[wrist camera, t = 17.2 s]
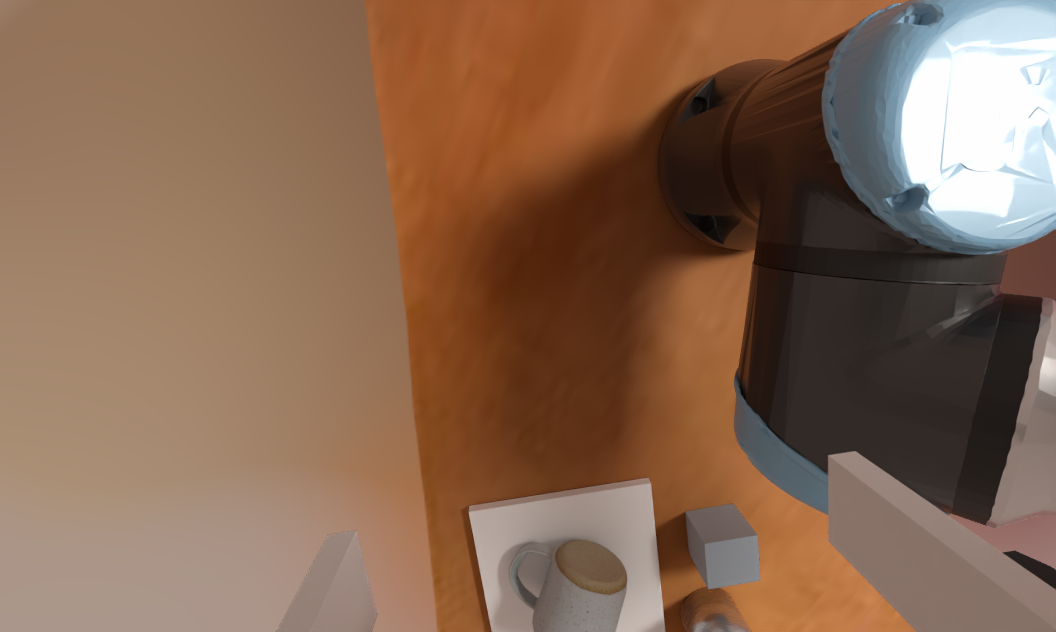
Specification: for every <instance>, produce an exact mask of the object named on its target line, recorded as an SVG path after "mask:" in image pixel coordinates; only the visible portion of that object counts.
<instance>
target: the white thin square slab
mask: <svg viewBox="0 0 1056 632" xmlns="http://www.w3.org/2000/svg"><path fill="white" fill-rule="evenodd" d="M469 517H470V522H471V527H472V532H473V537H474V543H475V548H476V553H477V558H478V563H479V568H480V574H481V579H482V584H483V589H484V594H485V599H486V605H487V610H488V615H489V620H490V625H491V631H492V632H534V630H533V625H532V620H533V613H534V610H533V609H531V608H530V607H529V606H527V605H526V604H525V603H524V602H523V601H522V600H521V599H520V598H519V597H518V596H517V594H516V593H515V592H514V590H513V588H512V586H511V584H510V581H509V567H510V564H511V562H512V560H513V558H514V556H515V555H516V553H517V552H518V550H519V549H521V548H522V547H523V546H525V545H526V544H529V543H540V544H546V545H548V546H550V547H552V548H554V549H556V550H558V548H559V547H560V546H561V545H562V544H564V543H566V542H568V541H572V540H587V541H591V542H594V543H597V544H600V545H602V546H604V547H605V548H607V549H608V550H610V551H611V552H612V553H614V554H615V555H616V556H617V557H618V558H619V559H620V561H621V562H622V564H623V565H624V567H625V570H626V572H627V590H626V595H625V599H624V603H623V606H622V609H621V613H620V617H619V621H618V624H617V628H616V632H665V623H664V613H663V603H662V592H661V582H660V572H659V562H658V551H657V541H656V531H655V520H654V510H653V500H652V489H651V482H650V481H649V479H648V478H642V479H636V480H630V481H624V482H617V483H611V484H605V485H598V486H592V487H586V488H579V489H573V490H567V491H560V492H554V493H548V494H541V495H535V496H529V497H522V498H516V499H510V500H503V501H497V502H491V503H484V504H478V505H472V506H469ZM550 563H551V559H550V558H548V557H545V556H544V555H540V554H537V553H527V554H526V557H525V558H523V559H522V560H521V562H520V565H519V568H518V577H519V579H520V581H521V582H522V584H523V585H524V587H525V588H526V589H527V590H529V592H531V593H532V594H533V595H535V596H536V597H537V598H539V595H540V592H541V590H542V587H543V585H544V582H545V579H546V576H547V572H548V569H549V567H550Z"/></svg>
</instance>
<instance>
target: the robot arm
mask: <svg viewBox="0 0 1056 632" xmlns="http://www.w3.org/2000/svg"><path fill="white" fill-rule="evenodd" d="M658 174H659V182H660V187H661V190H662V194H663V197H664V199H665V202H666V204H667V206H668V208H669V210H670V212H671V213H672V215H673V216H674V217H675V219H676V220H677V221H678V223H679V224H680V225H681V226H682V227H683V228H684V229H685V230H687V231H688V232H689V233H690V234H692V235H693V236H695V237H696V238H698V239H700V240H702V241H704V242H706V243H708V244H711V245H714V246H718V247H723V248H729V249H735V250H755V255H754V261H753V264H752V272H751V280H750V288H749V296H748V303H747V311H746V319H745V327H744V334H743V341H742V347H741V354H740V361H739V367H738V368H737V371H736V374H735V379H734V388H735V392H736V404H735V415H734V429H735V434H736V438H737V441H738V443H739V445H740V447H741V448H742V449H743V451H744V452H745V453H746V454H747V456H748V459H749V460H750V462H751V463H752V464H753V465H754V466H755V467H756V468H757V469H758V470H759V471H760V472H761V473H762V474H763V475H764V476H765V477H766V478H767V479H768V480H770V481H771V482H772V483H774V484H775V485H776V486H778V487H779V488H780V489H782V490H783V491H785V492H786V493H788V494H789V495H791V496H793V497H794V498H796V499H798V500H799V501H801V502H803V503H805V504H807V505H808V506H810V507H812V508H814V509H816V510H818V511H821V512H823V513H825V514H827V515H829V542H830V543H831V544H832V545H833V546H834V547H835V548H836V549H837V550H838V551H839V552H840V553H841V554H842V555H843V556H844V558H845V559H846V560H847V561H848V562H849V563H850V564H851V565H852V566H853V567H854V568H855V569H856V570H857V571H858V572H859V573H860V574H861V575H862V576H863V577H864V578H865V579H866V580H867V581H868V582H869V583H870V584H871V585H872V586H873V587H874V588H875V589H876V590H877V591H878V592H879V593H880V594H881V595H882V596H883V597H884V598H885V600H886V601H887V602H888V603H889V604H890V605H891V606H892V607H893V608H894V609H895V610H896V611H897V612H898V613H899V614H900V615H901V616H902V617H903V618H904V619H905V620H906V621H907V622H908V623H909V624H910V625H911V626H912V627H913V628H914V629H915V630H916V631H917V632H1056V570H1055V569H1054V568H1052V567H1050V566H1048V565H1046V564H1044V563H1041V562H1039V561H1037V560H1035V559H1033V558H1030V557H1028V556H1026V555H1023V554H1021V553H1019V552H1017V551H1010V552H1004V553H1002V552H1000V551H999V550H997V549H996V548H995V547H993V546H992V545H990V544H989V543H987V542H986V541H984V540H983V539H982V538H980V537H979V536H977V535H976V534H974V533H973V532H971V531H970V530H969V529H967V528H966V527H964V526H963V525H961V524H960V523H958V522H957V521H955V520H954V519H953V518H951V517H950V516H949V514H950V513H951V514H954V515H957V516H960V517H963V518H965V519H969V520H971V521H974V522H977V523H980V524H983V525H986V526H989V527H992V528H997V527H1000V526H1004V525H1007V524H1011V523H1014V522H1018V521H1021V520H1024V519H1028V518H1031V517H1035V516H1042V515H1056V302H1055V301H1054V300H1053V299H1047V298H1042V297H1033V296H1023V295H1014V294H1005V293H1002V292H1000V285H1001V281H1002V276H1003V272H1004V267H1005V264H1006V259H1007V256H1008V251H1009V249H1011V248H1016V247H1018V246H1020V245H1023V244H1026V243H1029V242H1033V241H1035V240H1037V239H1038V238H1040V237H1043V236H1045V235H1047V234H1048V233H1049V232H1051V231H1053V230H1055V229H1056V0H909V1H907V2H904V3H899V4H893V5H890V6H887V8H886V9H884V10H881V9H880V10H878V11H876V12H874V13H872V14H870V15H869V16H867V17H866V18H864V19H863V20H862V21H860V22H859V23H858V24H857V25H856V26H854V27H852V28H850V29H848V30H846V31H845V32H843V33H841V34H839V35H837V36H835V37H833V38H831V39H829V40H827V41H826V42H824V43H822V44H820V45H818V46H816V47H814V48H812V49H810V50H809V51H807V52H805V53H803V54H801V55H799V56H797V57H795V58H793V59H792V60H790V61H782V60H772V59H759V60H751V61H746V62H742V63H738V64H735V65H732V66H730V67H727V68H725V69H723V70H721V71H719V72H717V73H716V74H714V75H713V76H711V77H709V78H708V79H706V80H705V81H703V82H702V83H700V84H699V85H698V86H696V87H695V88H694V89H693V90H692V91H691V92H690V93H689V94H688V95H687V96H686V97H685V98H684V99H683V100H682V101H681V102H680V104H679V105H678V106H677V108H676V109H675V111H674V112H673V114H672V116H671V118H670V120H669V122H668V124H667V126H666V128H665V131H664V134H663V137H662V140H661V145H660V150H659V158H658ZM376 617H377V611H376V607H375V603H374V599H373V595H372V591H371V587H370V583H369V579H368V575H367V571H366V568H365V563H364V560H363V556H362V552H361V548H360V544H359V540H358V536H357V532H356V530H354V531H348V532H342V533H336V534H329V535H328V536H327V537H326V540H325V541H324V543H323V545H322V547H321V549H320V551H319V553H318V554H317V556H316V558H315V560H314V562H313V564H312V566H311V567H310V569H309V571H308V573H307V575H306V577H305V579H304V581H303V582H302V584H301V586H300V588H299V590H298V592H297V594H296V596H295V598H294V599H293V601H292V603H291V605H290V607H289V609H288V611H287V612H286V614H285V616H284V618H283V620H282V622H281V623H280V625H279V628H278V629H277V631H276V632H372V630H373V627H374V624H375V621H376Z"/></svg>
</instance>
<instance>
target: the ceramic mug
mask: <svg viewBox="0 0 1056 632" xmlns="http://www.w3.org/2000/svg"><path fill="white" fill-rule="evenodd" d="M527 553H537V554H540V555H544V556H545V557H548V558H550V559H551V563H550V567H549V569H548V572H547V576H546V579H545V582H544V585H543V587H542V590H541V592H540V595H539V598H537V597H536V596H535V595H533V594H532V593H531V592H529V590H527V589H526V588H525V587H524V585H523V584H522V582H521V581H520V579H519V577H518V568H519V565H520V562H521V560H522V559H523V558H525V557H526V554H527ZM509 581H510V584H511V586H512V588H513V590H514V592H515V593H516V594H517V596H518V597H519V598H520V599H521V600H522V601H523V602H524V603H525V604H526V605H527V606H529V607H530V608H531V609H533V610H534V613H533V620H532V625H533V630H534V632H616V628H617V624H618V621H619V617H620V613H621V609H622V606H623V603H624V599H625V595H626V590H627V572H626V570H625V567H624V565H623V564H622V562H621V561H620V559H619V558H618V557H617V556H616V555H615V554H614V553H612V552H611V551H610V550H608V549H607V548H605V547H604V546H602V545H600V544H597V543H594V542H591V541H587V540H572V541H568V542H566V543H564V544H562V545H561V546H560V547H559V548H558V550H556V549H554V548H552V547H550V546H548V545H546V544H540V543H529V544H526V545H525V546H523V547H522V548H521V549H519V550H518V552H517V553H516V555H515V556H514V558H513V560H512V562H511V564H510V567H509Z"/></svg>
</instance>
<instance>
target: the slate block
mask: <svg viewBox="0 0 1056 632" xmlns="http://www.w3.org/2000/svg"><path fill="white" fill-rule="evenodd" d="M685 515H686V526H687V537H688V548H689V554H690V556H691V558H692V560H693V562H694V564H695V566H696V567H697V569H698V571H699V573H700V575H701V577H702V579H703V580H704V582H705V584H706V586H707V588H708V589H714V588H720V587H725V586H731V585H737V584H743V583H749V582H755V581H760V569H759V551H758V535H757V534H756V532H755V531H754V530H753V528H752V527H751V526H750V525H749V523H748V522H747V521H746V519H745V518H744V517H743V516H742V514H741V513H740V512H739V510H738V509H737V508H736V506H735V505H734V504H727V505H721V506H715V507H709V508H703V509H698V510H692V511H686V512H685Z"/></svg>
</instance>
